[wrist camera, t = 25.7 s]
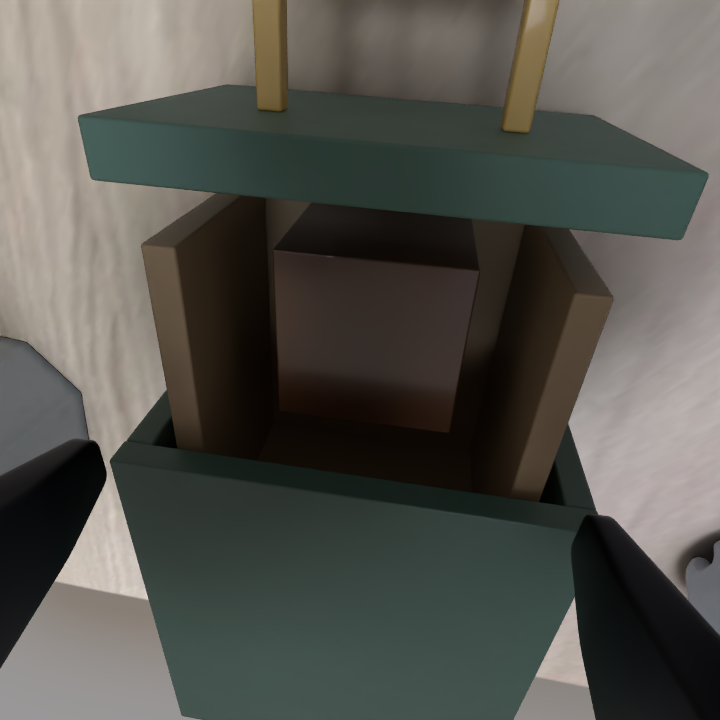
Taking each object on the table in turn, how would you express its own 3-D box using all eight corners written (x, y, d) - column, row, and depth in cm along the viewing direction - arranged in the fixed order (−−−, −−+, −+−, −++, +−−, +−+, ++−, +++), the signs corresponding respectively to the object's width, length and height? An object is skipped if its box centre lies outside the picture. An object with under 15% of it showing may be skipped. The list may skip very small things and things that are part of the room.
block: (471, 209, 16) (480, 270, 12) (447, 345, 19) (449, 434, 14) (315, 195, 16) (271, 248, 12) (314, 330, 19) (278, 411, 15)
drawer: (213, -92, 14) (2, -211, 7) (647, -68, 13) (862, -182, 6) (249, 415, 23) (174, 562, 17) (499, 451, 22) (522, 620, 16)
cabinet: (235, 301, 21) (108, 460, 13) (541, 338, 20) (606, 536, 12) (253, 529, 29) (181, 716, 21) (474, 564, 28) (486, 775, 20)
